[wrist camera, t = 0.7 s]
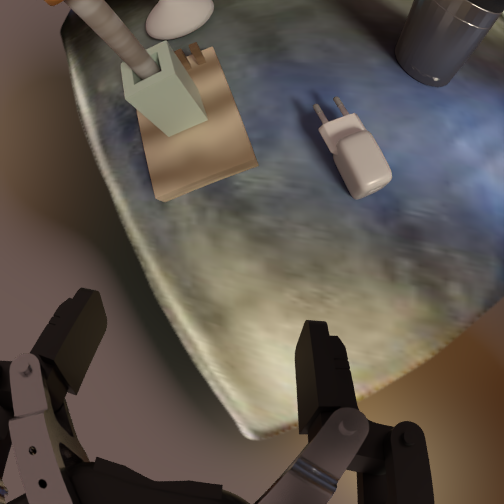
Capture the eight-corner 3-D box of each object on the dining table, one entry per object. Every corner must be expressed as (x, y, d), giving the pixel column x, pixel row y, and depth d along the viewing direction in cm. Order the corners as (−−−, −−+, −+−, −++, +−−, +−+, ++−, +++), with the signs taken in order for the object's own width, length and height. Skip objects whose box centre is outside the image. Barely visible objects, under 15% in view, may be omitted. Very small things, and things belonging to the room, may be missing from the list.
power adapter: (305, 121, 32) (305, 96, 26) (340, 107, 31) (346, 82, 25) (348, 204, 31) (359, 194, 25) (384, 188, 30) (401, 175, 25)
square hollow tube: (161, 105, 32) (120, 63, 22) (197, 88, 31) (166, 40, 21) (168, 137, 31) (125, 99, 21) (208, 120, 31) (175, 73, 21)
